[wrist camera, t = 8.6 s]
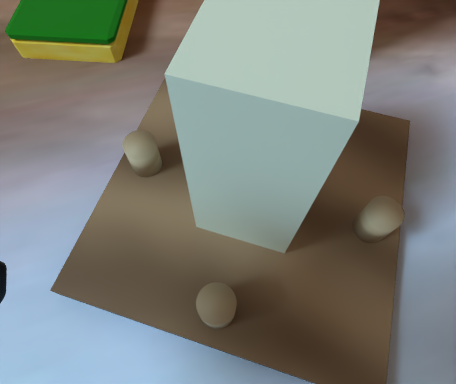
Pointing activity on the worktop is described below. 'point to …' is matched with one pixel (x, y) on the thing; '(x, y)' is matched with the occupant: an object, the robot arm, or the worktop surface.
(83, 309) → the worktop surface
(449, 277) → the worktop surface
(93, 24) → the dish sponge
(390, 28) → the worktop surface
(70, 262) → the peg stand
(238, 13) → the sage block
